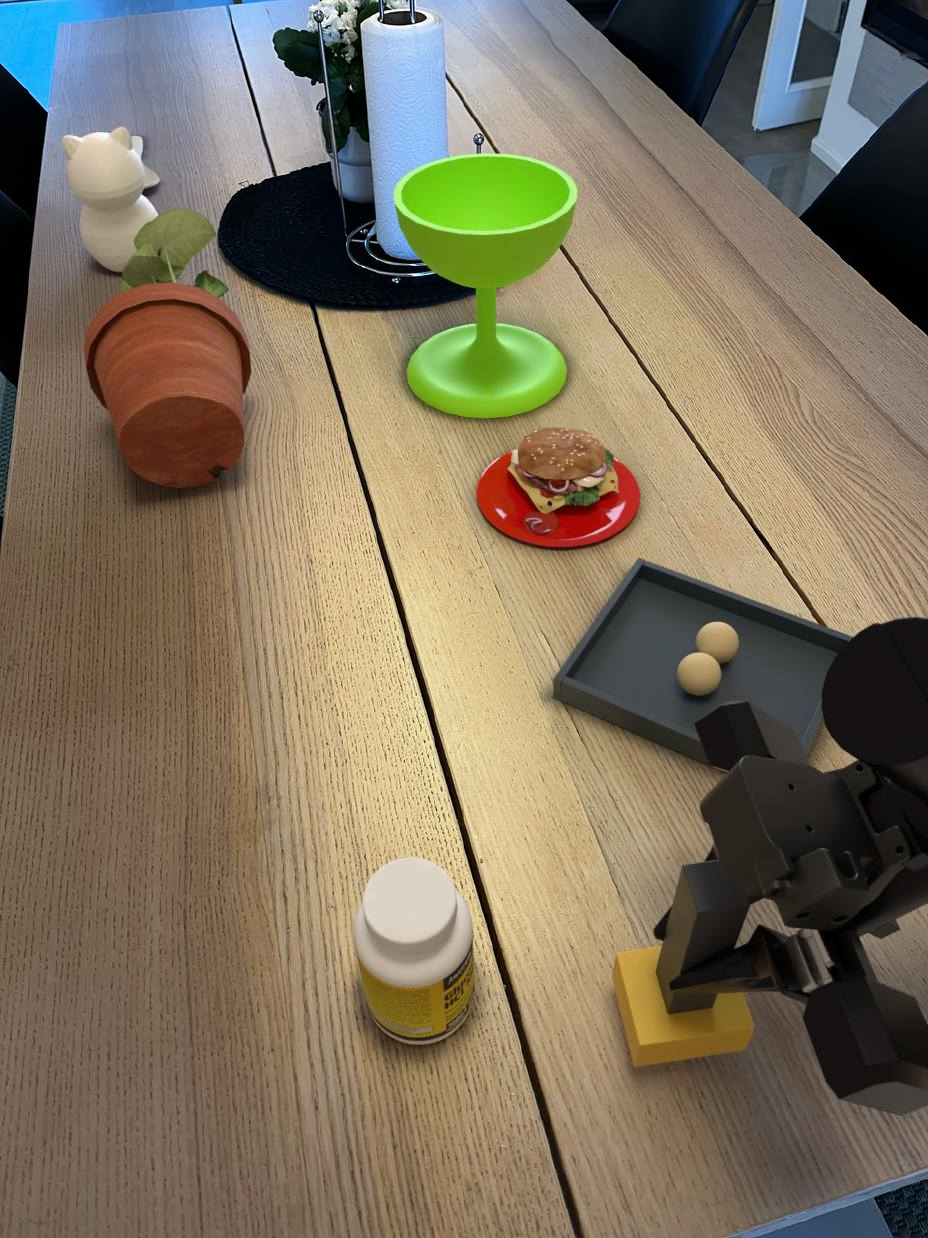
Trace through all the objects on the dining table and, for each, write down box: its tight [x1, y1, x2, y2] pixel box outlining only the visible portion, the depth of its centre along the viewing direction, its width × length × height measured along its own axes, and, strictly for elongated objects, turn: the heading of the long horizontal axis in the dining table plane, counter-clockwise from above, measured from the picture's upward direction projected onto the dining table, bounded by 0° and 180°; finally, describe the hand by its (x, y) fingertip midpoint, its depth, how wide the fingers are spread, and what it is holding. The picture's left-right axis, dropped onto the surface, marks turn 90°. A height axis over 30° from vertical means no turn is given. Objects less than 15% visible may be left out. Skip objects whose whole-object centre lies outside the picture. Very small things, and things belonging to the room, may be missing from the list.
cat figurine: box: [61, 126, 159, 273], centre depth 114 cm, size 9×12×15 cm
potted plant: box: [83, 207, 252, 489], centre depth 95 cm, size 16×15×35 cm
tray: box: [552, 557, 854, 774], centre depth 73 cm, size 17×14×2 cm
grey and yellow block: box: [611, 860, 756, 1068], centre depth 50 cm, size 6×5×14 cm
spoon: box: [130, 135, 160, 190], centre depth 136 cm, size 4×21×2 cm, turn 17°
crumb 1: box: [696, 622, 739, 664], centre depth 73 cm, size 3×3×3 cm
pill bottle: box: [352, 857, 476, 1046], centre depth 54 cm, size 6×6×11 cm
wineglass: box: [392, 152, 579, 420], centre depth 95 cm, size 16×16×18 cm
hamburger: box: [476, 426, 641, 548], centre depth 86 cm, size 14×14×6 cm
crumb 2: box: [677, 653, 721, 696], centre depth 71 cm, size 3×3×3 cm
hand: (665, 962), depth 50 cm, fingers closed on grey and yellow block, 2 cm apart
